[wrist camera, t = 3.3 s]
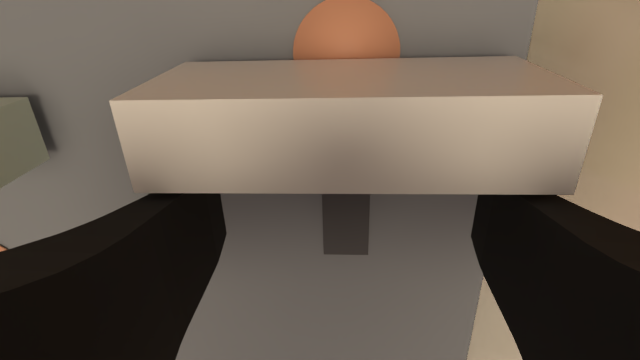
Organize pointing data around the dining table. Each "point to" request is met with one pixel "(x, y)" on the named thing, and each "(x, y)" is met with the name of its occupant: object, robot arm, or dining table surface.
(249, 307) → the switch panel
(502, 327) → the dining table surface
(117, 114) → the lever white
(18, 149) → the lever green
